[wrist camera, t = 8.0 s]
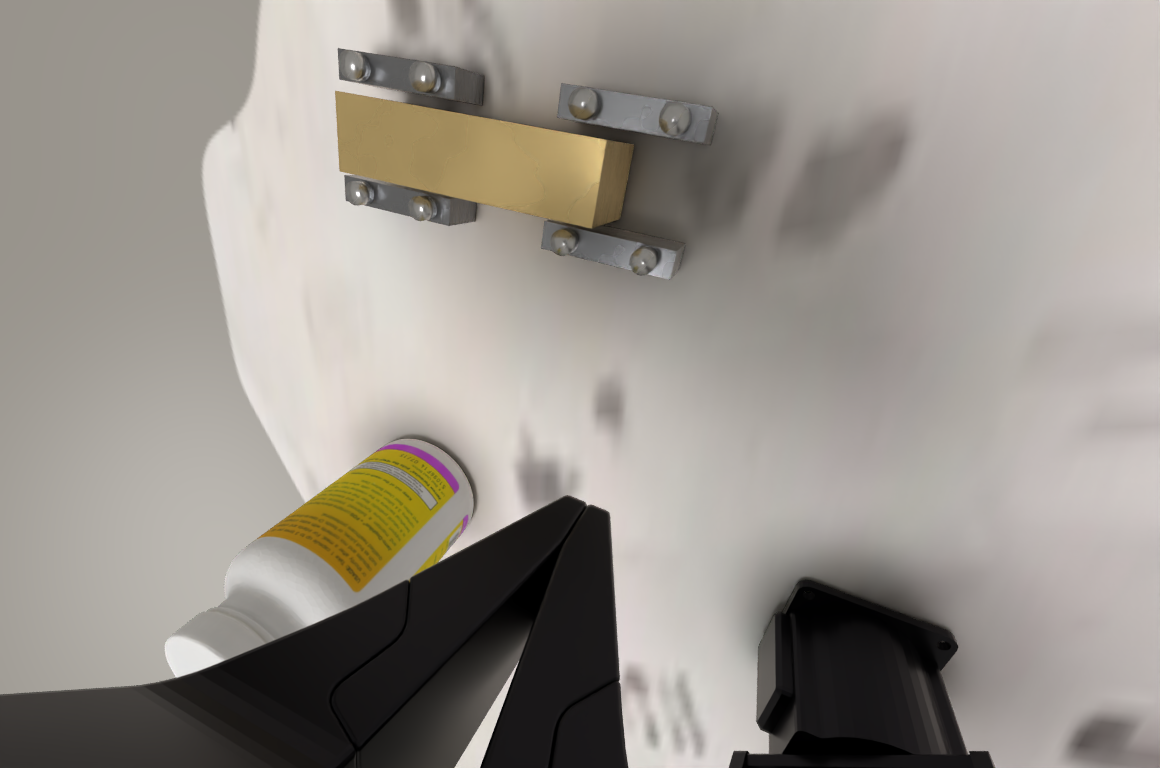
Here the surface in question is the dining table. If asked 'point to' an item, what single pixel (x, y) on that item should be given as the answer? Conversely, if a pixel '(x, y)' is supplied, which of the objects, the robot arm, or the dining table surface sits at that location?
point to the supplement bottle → (333, 553)
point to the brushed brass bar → (484, 159)
